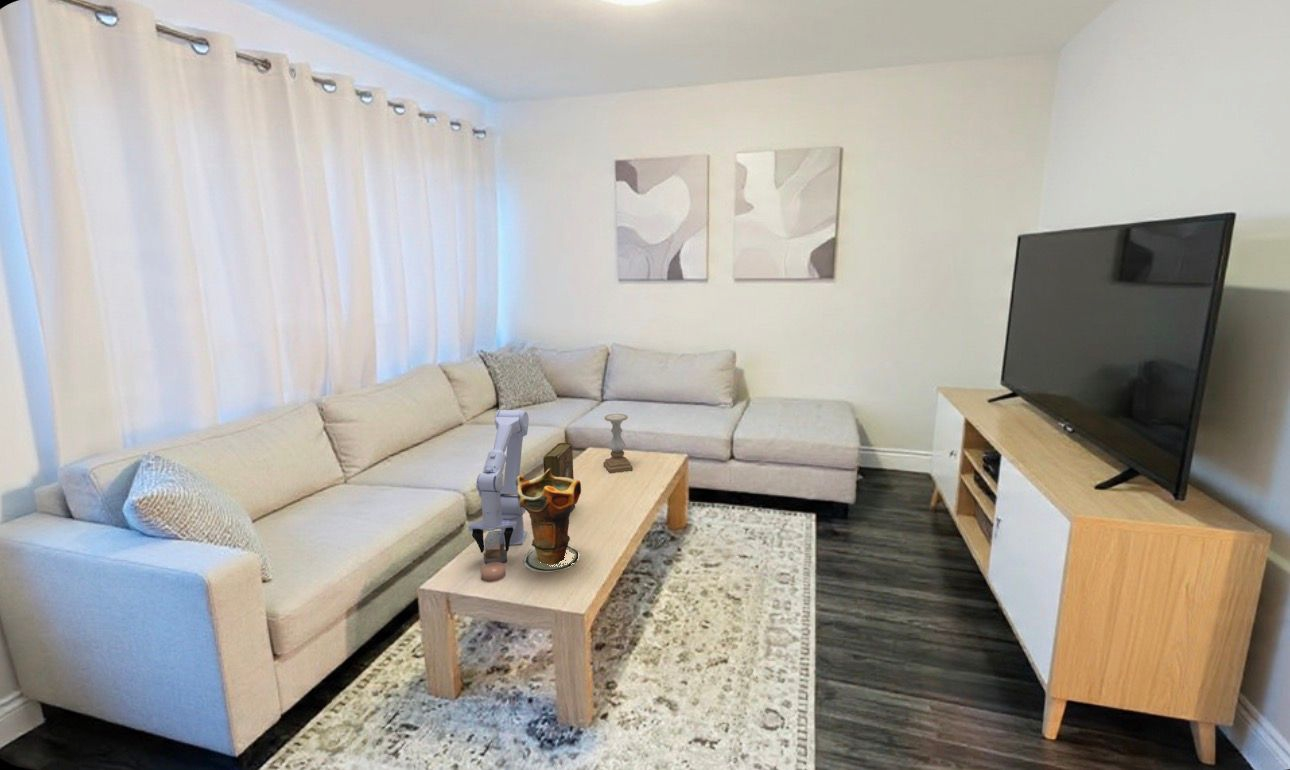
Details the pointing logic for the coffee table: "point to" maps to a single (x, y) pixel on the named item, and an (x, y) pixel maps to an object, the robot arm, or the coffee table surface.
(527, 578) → the coffee table surface
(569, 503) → the decorative vase
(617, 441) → the candle holder
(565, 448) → the book
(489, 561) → the stand
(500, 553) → the housing
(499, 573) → the stand
